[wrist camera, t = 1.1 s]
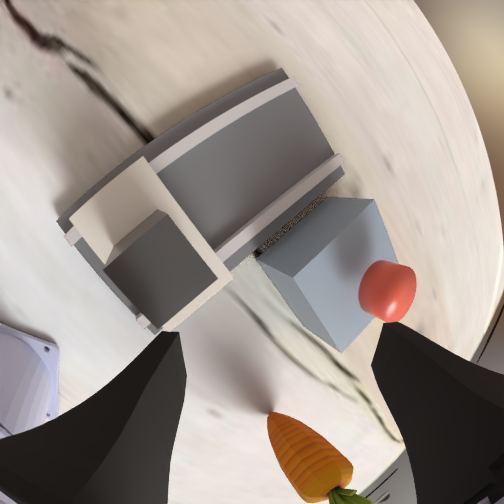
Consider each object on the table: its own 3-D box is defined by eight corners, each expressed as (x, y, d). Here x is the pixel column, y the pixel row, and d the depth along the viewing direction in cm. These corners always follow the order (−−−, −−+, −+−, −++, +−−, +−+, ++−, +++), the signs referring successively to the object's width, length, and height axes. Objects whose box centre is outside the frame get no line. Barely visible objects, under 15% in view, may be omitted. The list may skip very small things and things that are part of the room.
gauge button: (368, 323, 17) (389, 334, 15) (350, 286, 16) (374, 296, 14) (398, 286, 18) (420, 294, 16) (385, 248, 17) (409, 254, 15)
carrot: (264, 435, 25) (343, 536, 12) (238, 418, 23) (323, 539, 10) (299, 407, 26) (392, 498, 13) (277, 387, 24) (383, 495, 11)
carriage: (164, 319, 17) (185, 384, 11) (76, 216, 14) (37, 228, 7) (223, 269, 18) (274, 308, 12) (142, 160, 15) (146, 134, 8)
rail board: (153, 328, 19) (155, 339, 17) (60, 220, 15) (53, 222, 13) (337, 174, 22) (350, 173, 21) (275, 72, 19) (286, 64, 17)
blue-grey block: (303, 326, 24) (341, 353, 19) (255, 259, 21) (292, 277, 16) (361, 267, 26) (404, 281, 21) (327, 197, 22) (374, 199, 18)
